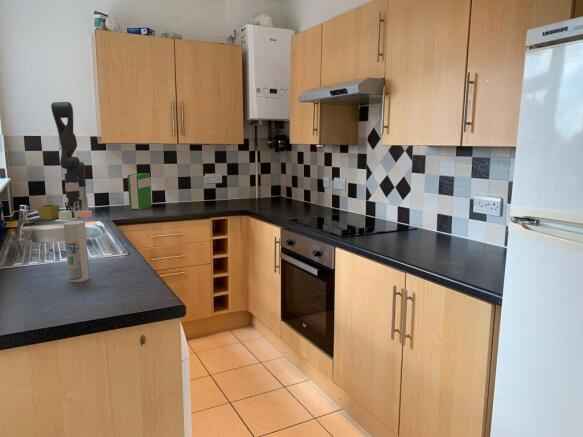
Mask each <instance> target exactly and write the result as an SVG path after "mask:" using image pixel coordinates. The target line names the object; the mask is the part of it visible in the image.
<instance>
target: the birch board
mask: <svg viewBox="0 0 583 437" xmlns="http://www.w3.org/2000/svg"><path fill="white" fill-rule="evenodd" d="M77 219H79V217H77V218H72V219H70V220H59V218H57V219H53V222H70V221H76V220H77Z"/></svg>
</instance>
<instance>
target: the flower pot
mask: <svg viewBox="0 0 583 437" xmlns="http://www.w3.org/2000/svg"><path fill="white" fill-rule="evenodd" d="M36 210H37V213H38V212H39V214H38V216H39V215H40V217H39V219H41V221H54V220H58V218H59V213H58V212H60V204H44V205H39V206H36Z"/></svg>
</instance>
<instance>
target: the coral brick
mask: <svg viewBox="0 0 583 437" xmlns="http://www.w3.org/2000/svg"><path fill="white" fill-rule="evenodd" d="M79 213H80V217H79V219H90V218H93V210H89V211H80V212H79Z"/></svg>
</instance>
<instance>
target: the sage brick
mask: <svg viewBox="0 0 583 437" xmlns="http://www.w3.org/2000/svg"><path fill="white" fill-rule="evenodd" d="M58 213H59V215H58V219H59V220H70V219H72V211H66V210H59V212H58Z"/></svg>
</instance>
